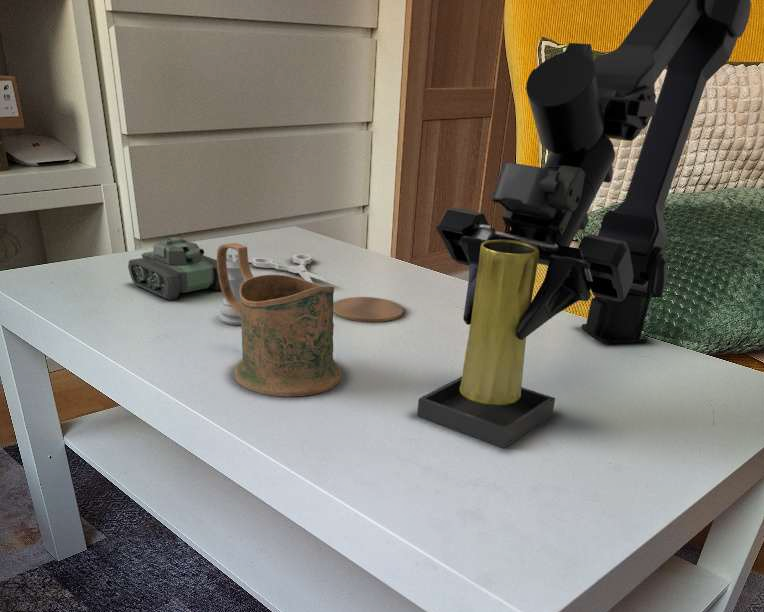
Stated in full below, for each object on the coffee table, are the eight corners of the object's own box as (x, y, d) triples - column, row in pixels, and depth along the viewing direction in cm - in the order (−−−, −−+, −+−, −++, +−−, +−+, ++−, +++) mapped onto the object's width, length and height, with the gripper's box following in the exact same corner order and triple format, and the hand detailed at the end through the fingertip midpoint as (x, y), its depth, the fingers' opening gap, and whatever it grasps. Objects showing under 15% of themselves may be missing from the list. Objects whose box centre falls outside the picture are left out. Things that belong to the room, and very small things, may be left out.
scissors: (302, 251, 123) (361, 282, 108) (302, 256, 123) (361, 287, 109) (242, 256, 118) (296, 289, 104) (242, 261, 118) (296, 295, 104)
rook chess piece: (212, 322, 93) (207, 257, 89) (231, 312, 97) (227, 250, 93) (243, 328, 92) (239, 263, 88) (261, 318, 96) (259, 255, 91)
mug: (265, 333, 91) (262, 232, 84) (362, 378, 81) (367, 267, 74) (183, 354, 84) (172, 245, 77) (279, 406, 74) (276, 285, 67)
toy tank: (188, 272, 111) (184, 224, 108) (236, 291, 105) (233, 241, 101) (126, 283, 105) (120, 233, 101) (173, 305, 98) (168, 251, 94)
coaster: (391, 298, 106) (391, 296, 106) (412, 320, 98) (412, 317, 98) (325, 301, 103) (326, 298, 103) (342, 323, 96) (342, 320, 95)
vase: (505, 412, 70) (528, 259, 62) (448, 396, 72) (463, 247, 65) (529, 391, 74) (554, 246, 66) (475, 376, 77) (492, 234, 69)
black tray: (469, 387, 80) (471, 370, 79) (552, 415, 75) (555, 398, 74) (416, 415, 74) (418, 398, 72) (504, 448, 69) (507, 430, 68)
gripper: (457, 114, 68) (378, 258, 66) (654, 138, 58) (567, 306, 57) (489, 195, 77) (421, 322, 76) (663, 226, 68) (589, 372, 67)
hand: (491, 329), depth 69 cm, fingers closed on vase, 5 cm apart
